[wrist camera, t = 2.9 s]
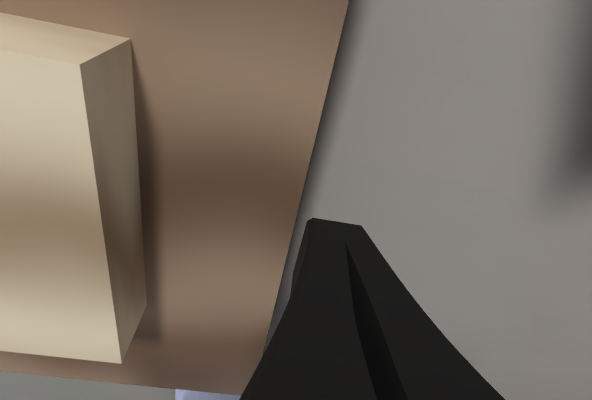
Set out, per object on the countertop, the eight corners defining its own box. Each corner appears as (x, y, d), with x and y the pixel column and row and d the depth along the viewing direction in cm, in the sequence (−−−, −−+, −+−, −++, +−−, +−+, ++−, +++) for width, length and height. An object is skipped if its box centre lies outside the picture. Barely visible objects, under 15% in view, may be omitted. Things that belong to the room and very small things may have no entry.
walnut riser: (260, 315, 18) (252, 396, 15) (3, 283, 17) (-69, 364, 13) (371, -199, 8) (424, -308, 5) (-249, -377, 7) (-781, -701, 3)
